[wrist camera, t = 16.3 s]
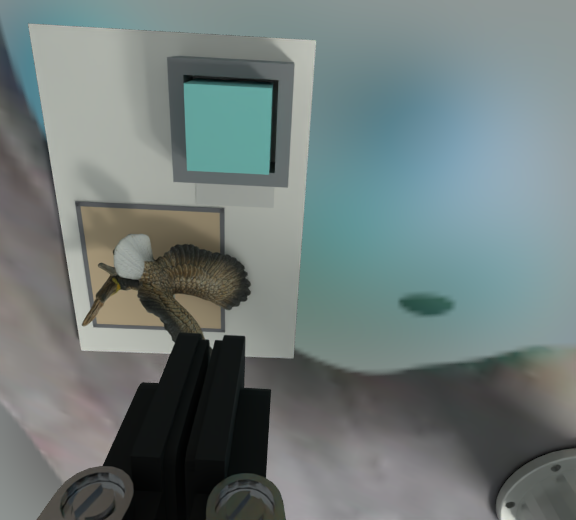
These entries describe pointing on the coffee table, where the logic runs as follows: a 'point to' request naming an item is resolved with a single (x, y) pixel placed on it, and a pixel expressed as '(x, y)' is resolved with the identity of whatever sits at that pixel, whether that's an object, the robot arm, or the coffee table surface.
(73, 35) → the board
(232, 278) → the eagle figurine
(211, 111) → the button
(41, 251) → the coffee table surface
